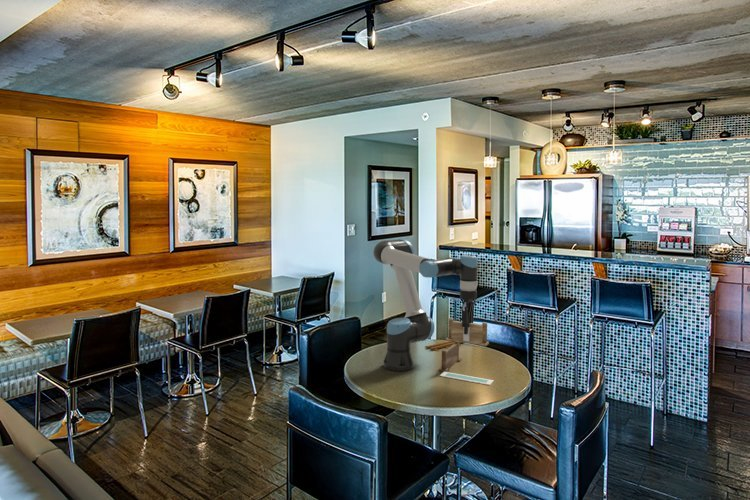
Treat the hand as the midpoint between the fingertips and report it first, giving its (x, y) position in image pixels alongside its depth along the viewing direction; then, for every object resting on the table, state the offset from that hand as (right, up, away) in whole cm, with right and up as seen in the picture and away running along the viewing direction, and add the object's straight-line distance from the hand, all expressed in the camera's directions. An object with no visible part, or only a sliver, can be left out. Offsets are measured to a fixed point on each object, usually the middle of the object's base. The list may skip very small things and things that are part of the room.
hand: (467, 340), depth 229 cm
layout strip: (0, -18, +2) cm, 18 cm away
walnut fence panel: (-5, -16, +20) cm, 26 cm away
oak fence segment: (0, -1, 0) cm, 1 cm away
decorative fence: (-2, -14, +54) cm, 55 cm away
